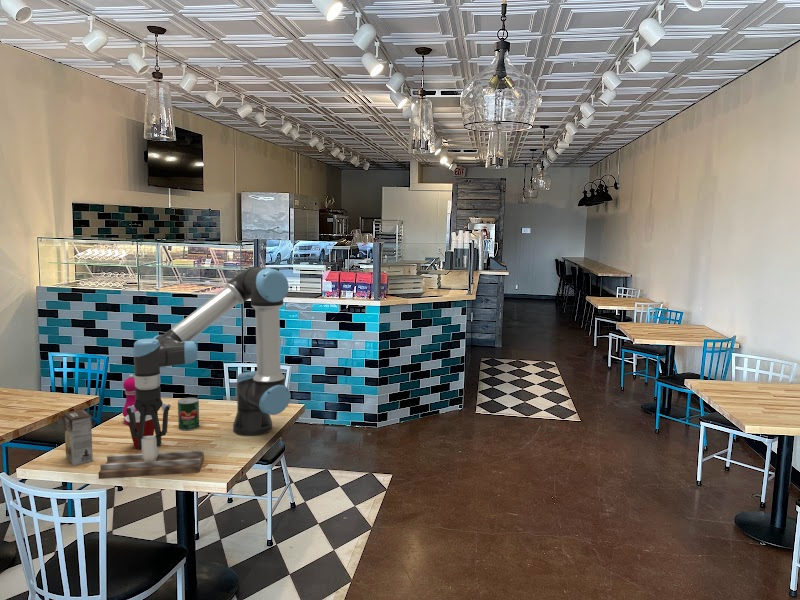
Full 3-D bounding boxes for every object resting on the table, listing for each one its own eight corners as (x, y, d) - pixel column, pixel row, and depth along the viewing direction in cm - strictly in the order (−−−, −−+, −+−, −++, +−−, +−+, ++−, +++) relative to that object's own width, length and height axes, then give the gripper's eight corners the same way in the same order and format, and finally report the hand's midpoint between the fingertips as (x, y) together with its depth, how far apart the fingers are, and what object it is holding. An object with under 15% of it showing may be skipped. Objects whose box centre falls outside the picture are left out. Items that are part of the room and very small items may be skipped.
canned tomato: (194, 422, 233) (193, 396, 232) (203, 427, 228) (202, 400, 226) (174, 426, 228) (174, 400, 226) (183, 432, 222) (182, 404, 221)
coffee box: (65, 458, 195) (62, 412, 193) (85, 453, 200) (83, 408, 198) (72, 466, 189) (70, 419, 187) (94, 461, 193) (91, 415, 191)
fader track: (203, 458, 197) (203, 448, 197) (198, 472, 186) (198, 462, 185) (110, 463, 192) (109, 453, 191) (98, 478, 180) (98, 467, 179)
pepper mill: (135, 426, 228) (133, 377, 225) (119, 424, 229) (117, 375, 226) (146, 420, 235) (144, 372, 232) (130, 418, 236) (128, 371, 234)
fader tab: (156, 458, 190) (156, 435, 190) (154, 463, 187) (153, 439, 186) (147, 459, 190) (146, 435, 189) (144, 464, 186) (143, 440, 185)
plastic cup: (119, 448, 204) (117, 416, 203) (145, 439, 214) (144, 408, 212) (139, 454, 199) (138, 421, 198) (165, 444, 209) (164, 413, 207)
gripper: (117, 391, 180) (120, 462, 183) (172, 389, 183) (174, 459, 186) (124, 384, 187) (127, 453, 190) (176, 382, 190) (178, 450, 193)
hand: (150, 456), depth 188 cm, fingers closed on fader tab, 3 cm apart
